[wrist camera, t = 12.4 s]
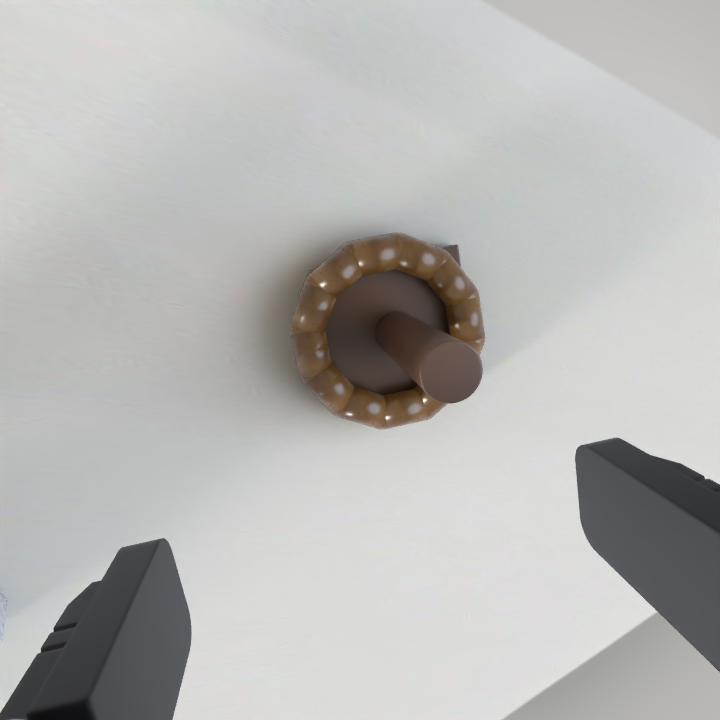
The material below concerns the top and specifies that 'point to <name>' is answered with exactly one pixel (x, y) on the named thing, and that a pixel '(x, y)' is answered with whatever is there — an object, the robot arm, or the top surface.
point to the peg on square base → (400, 338)
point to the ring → (338, 278)
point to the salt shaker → (2, 614)
